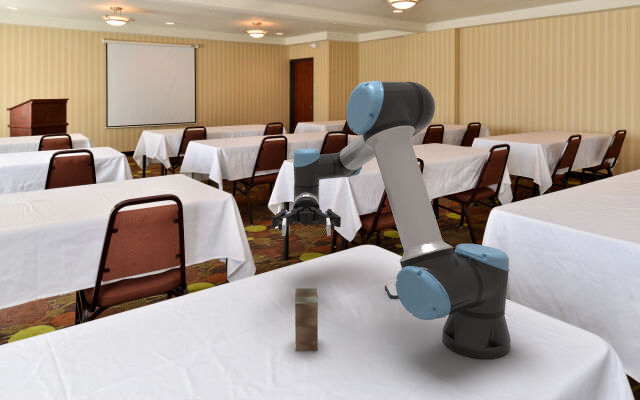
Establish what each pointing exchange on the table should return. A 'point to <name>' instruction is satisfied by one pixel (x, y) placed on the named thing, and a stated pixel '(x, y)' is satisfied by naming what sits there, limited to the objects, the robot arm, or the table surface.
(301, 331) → the walnut block
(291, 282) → the table surface
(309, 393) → the table surface
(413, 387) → the table surface
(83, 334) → the table surface
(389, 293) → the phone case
